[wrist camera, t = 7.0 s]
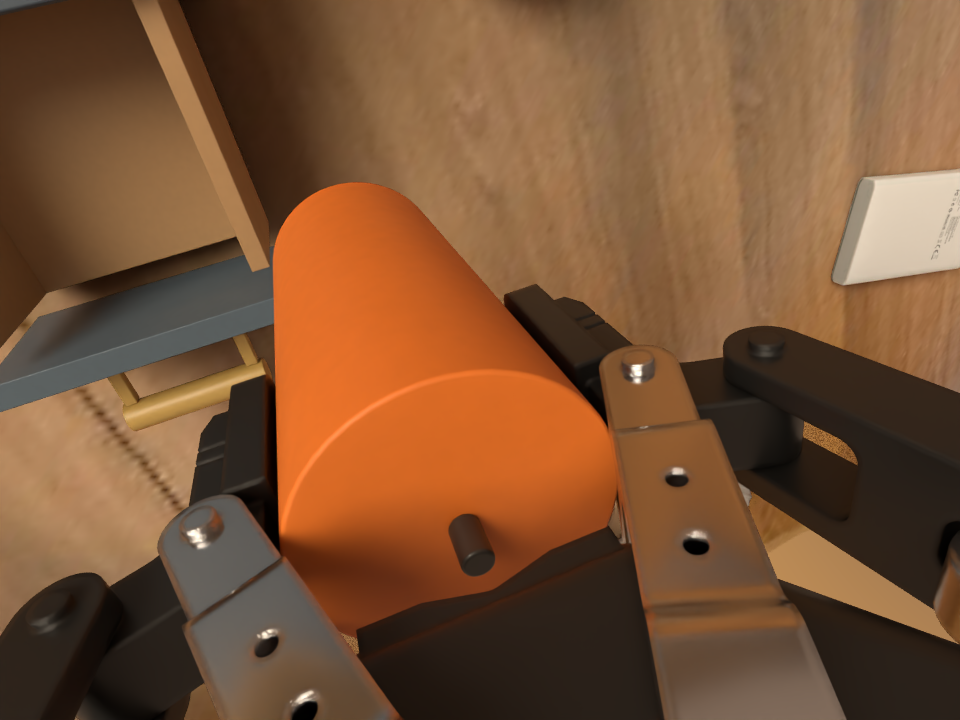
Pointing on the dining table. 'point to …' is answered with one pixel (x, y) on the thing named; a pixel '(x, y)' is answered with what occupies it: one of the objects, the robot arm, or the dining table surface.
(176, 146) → the drawer
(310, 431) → the candle
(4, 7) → the cabinet
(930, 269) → the hard drive
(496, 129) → the dining table surface
